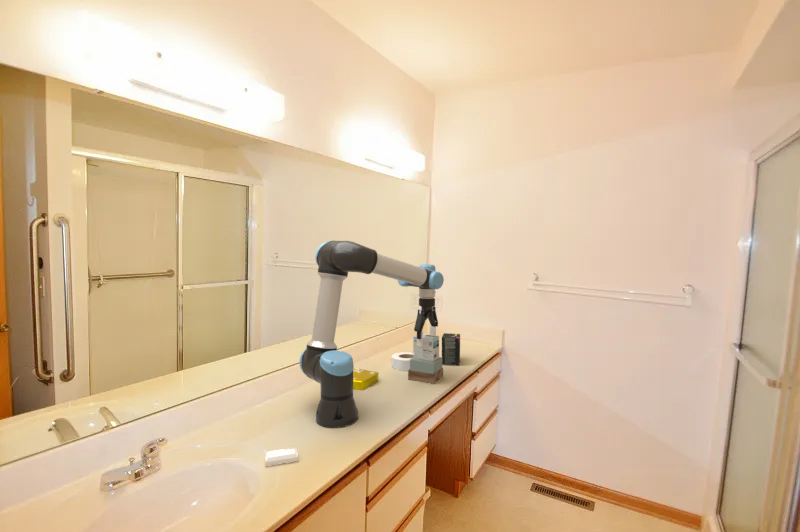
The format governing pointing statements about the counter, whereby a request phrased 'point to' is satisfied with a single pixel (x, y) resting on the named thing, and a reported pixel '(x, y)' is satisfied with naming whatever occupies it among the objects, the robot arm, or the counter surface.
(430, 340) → the light bulb box
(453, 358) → the tampon box
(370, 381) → the element tile
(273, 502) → the counter surface
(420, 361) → the grey-green top block
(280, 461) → the soap bar
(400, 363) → the roll of tape
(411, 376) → the walnut base block
